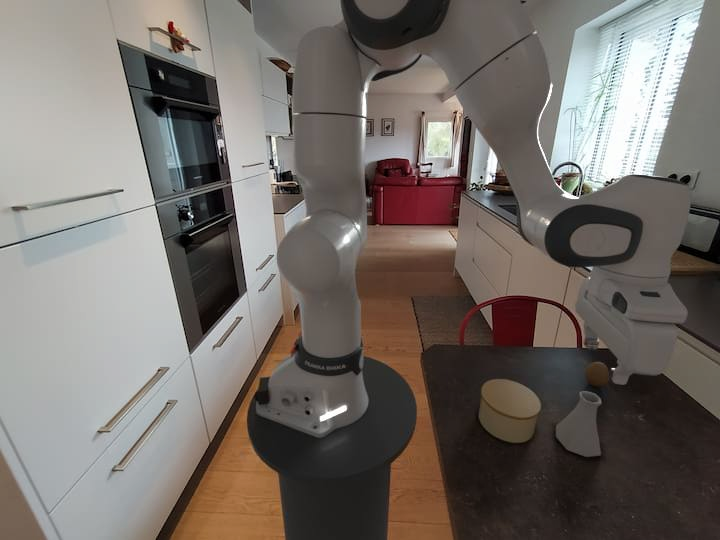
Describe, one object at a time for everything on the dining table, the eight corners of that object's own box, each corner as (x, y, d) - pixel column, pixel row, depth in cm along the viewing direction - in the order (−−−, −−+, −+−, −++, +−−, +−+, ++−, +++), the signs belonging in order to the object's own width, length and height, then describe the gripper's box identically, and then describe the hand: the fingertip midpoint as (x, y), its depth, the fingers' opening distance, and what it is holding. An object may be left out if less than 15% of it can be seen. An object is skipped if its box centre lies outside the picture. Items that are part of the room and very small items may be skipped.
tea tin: (480, 438, 60) (485, 412, 58) (474, 399, 70) (478, 375, 68) (542, 448, 58) (548, 422, 56) (526, 407, 67) (532, 382, 65)
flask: (548, 422, 64) (559, 380, 60) (590, 429, 62) (603, 386, 59) (562, 454, 57) (575, 409, 53) (609, 462, 55) (625, 415, 52)
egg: (610, 392, 72) (618, 369, 70) (590, 391, 72) (597, 369, 70) (597, 378, 76) (604, 357, 74) (578, 378, 76) (584, 356, 74)
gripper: (574, 263, 59) (559, 329, 64) (638, 313, 40) (610, 402, 45) (613, 265, 58) (595, 333, 63) (699, 318, 39) (663, 409, 44)
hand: (602, 362), depth 54 cm, fingers open, 8 cm apart
